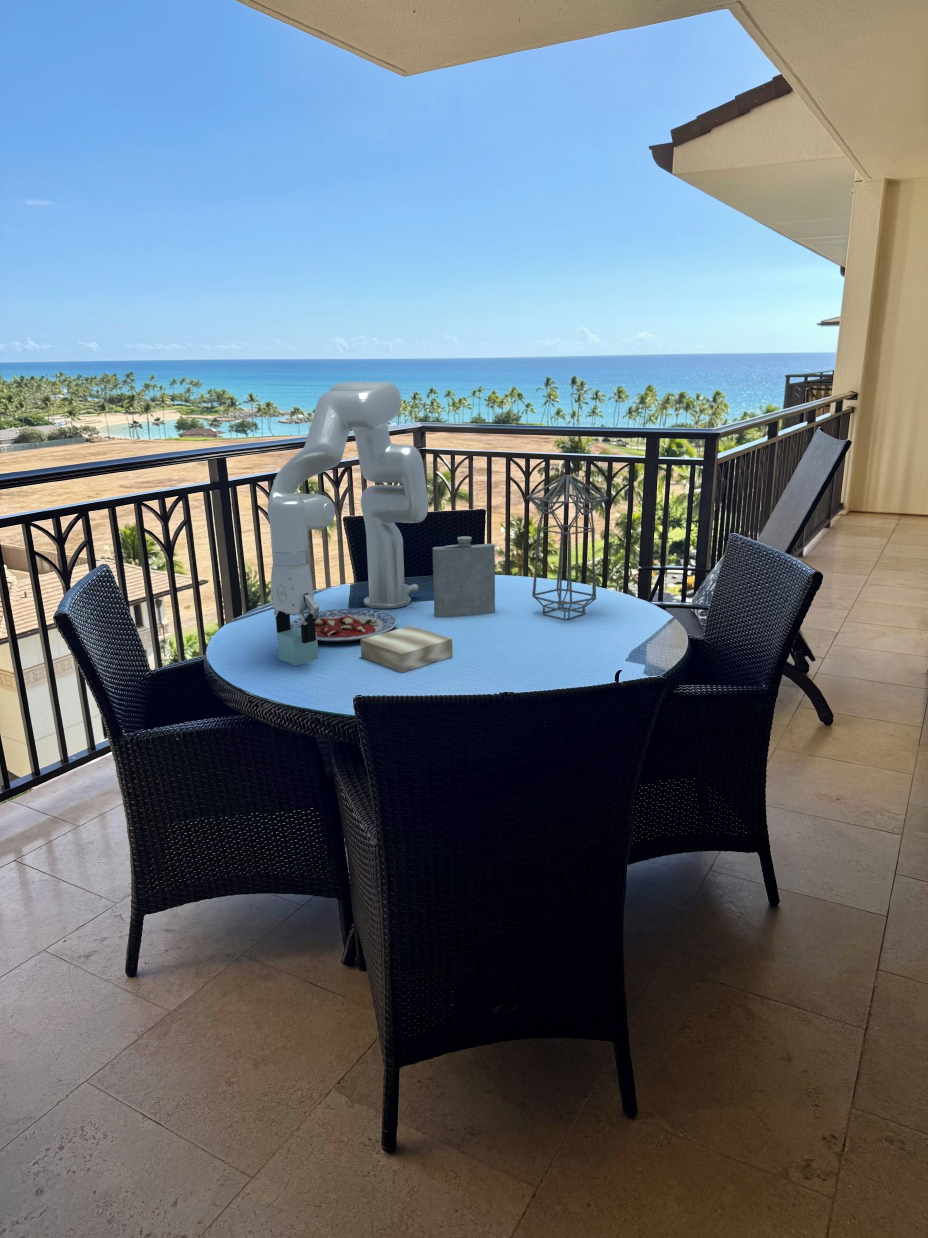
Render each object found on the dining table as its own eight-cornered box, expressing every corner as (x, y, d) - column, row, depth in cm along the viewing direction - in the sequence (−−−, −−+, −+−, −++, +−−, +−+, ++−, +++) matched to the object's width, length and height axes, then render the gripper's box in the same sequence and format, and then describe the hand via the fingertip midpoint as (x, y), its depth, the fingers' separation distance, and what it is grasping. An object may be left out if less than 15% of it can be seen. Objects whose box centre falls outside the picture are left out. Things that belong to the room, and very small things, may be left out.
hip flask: (493, 609, 210) (492, 533, 205) (497, 613, 207) (497, 536, 201) (433, 614, 207) (431, 537, 201) (436, 618, 203) (434, 540, 197)
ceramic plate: (293, 653, 179) (292, 640, 179) (285, 622, 203) (284, 610, 202) (407, 642, 186) (406, 629, 185) (387, 613, 210) (386, 601, 209)
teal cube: (303, 652, 179) (301, 627, 177) (318, 659, 175) (316, 632, 173) (279, 659, 175) (277, 632, 173) (294, 665, 171) (292, 638, 169)
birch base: (410, 642, 185) (410, 625, 183) (452, 656, 175) (452, 638, 174) (361, 657, 175) (360, 639, 174) (402, 672, 166) (401, 653, 164)
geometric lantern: (520, 614, 206) (522, 475, 197) (562, 604, 216) (565, 471, 207) (567, 626, 195) (571, 478, 186) (608, 614, 205) (614, 474, 196)
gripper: (253, 555, 172) (259, 632, 177) (298, 566, 160) (303, 649, 165) (284, 550, 177) (289, 626, 182) (329, 561, 165) (334, 641, 170)
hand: (296, 637), depth 173 cm, fingers open, 9 cm apart
